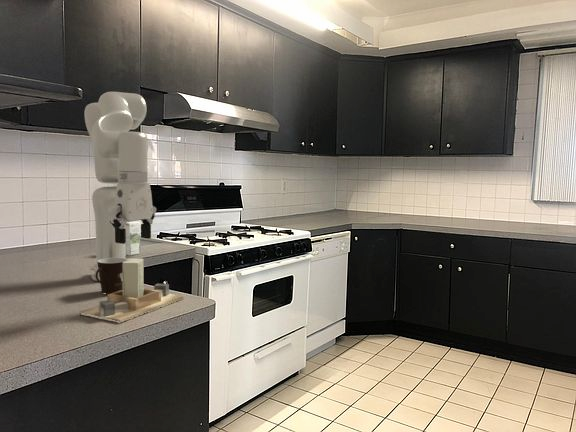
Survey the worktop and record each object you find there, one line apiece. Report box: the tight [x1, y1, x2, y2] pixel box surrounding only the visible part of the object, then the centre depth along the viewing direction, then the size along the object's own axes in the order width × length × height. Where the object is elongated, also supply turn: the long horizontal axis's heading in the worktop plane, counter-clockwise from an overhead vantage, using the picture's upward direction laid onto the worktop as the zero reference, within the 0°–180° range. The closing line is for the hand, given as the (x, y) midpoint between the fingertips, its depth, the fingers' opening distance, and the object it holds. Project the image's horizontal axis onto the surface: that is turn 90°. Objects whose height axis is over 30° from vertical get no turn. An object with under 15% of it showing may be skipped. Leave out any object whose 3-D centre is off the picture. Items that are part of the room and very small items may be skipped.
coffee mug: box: [96, 258, 128, 294], centre depth 144 cm, size 12×9×10 cm
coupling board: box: [79, 283, 184, 322], centre depth 131 cm, size 14×25×4 cm, turn 155°
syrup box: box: [125, 220, 141, 257], centre depth 208 cm, size 6×6×14 cm
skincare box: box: [123, 257, 145, 298], centre depth 131 cm, size 6×4×12 cm
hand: (133, 240), depth 130 cm, fingers open, 9 cm apart
